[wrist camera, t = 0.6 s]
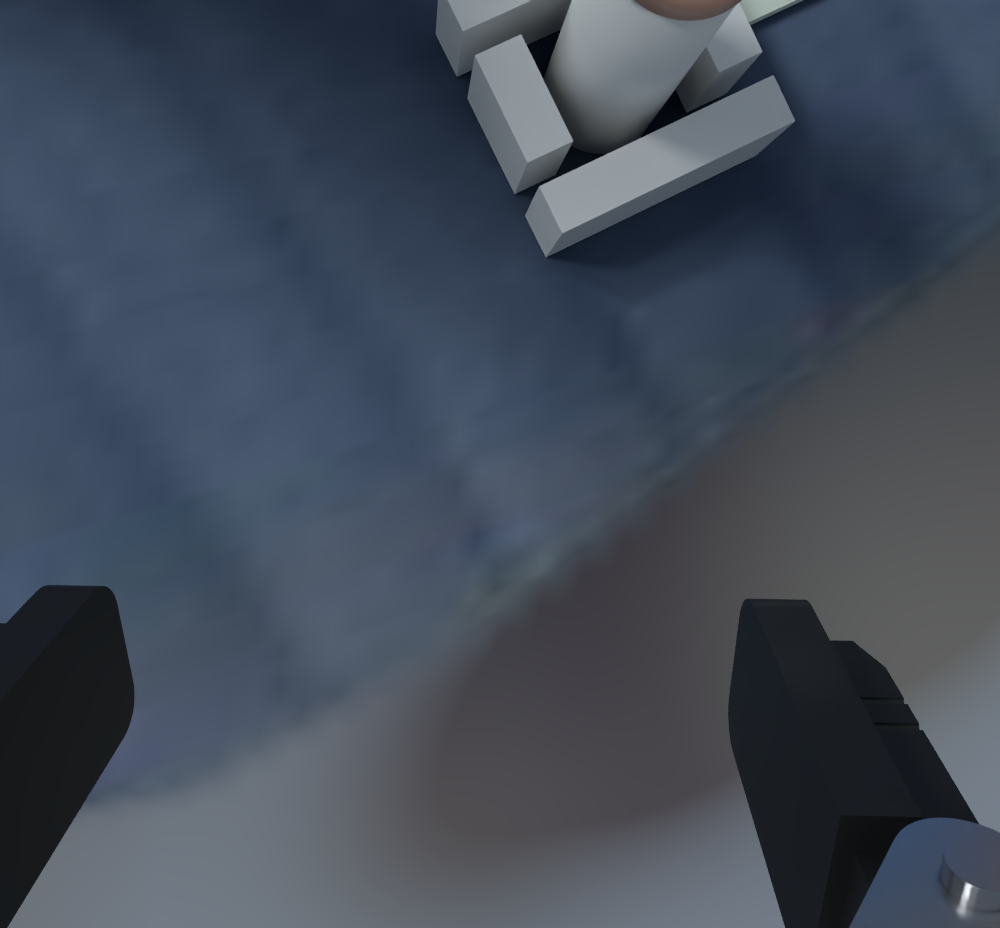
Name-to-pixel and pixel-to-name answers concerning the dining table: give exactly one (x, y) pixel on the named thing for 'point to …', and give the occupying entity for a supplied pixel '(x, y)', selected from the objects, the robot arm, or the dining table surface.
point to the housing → (623, 172)
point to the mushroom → (625, 63)
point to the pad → (764, 8)
